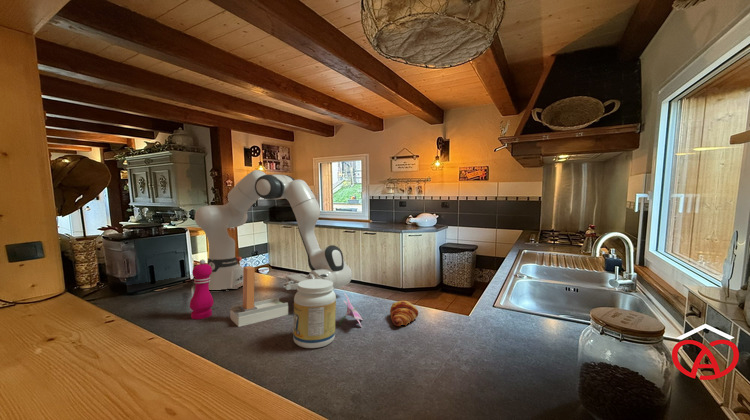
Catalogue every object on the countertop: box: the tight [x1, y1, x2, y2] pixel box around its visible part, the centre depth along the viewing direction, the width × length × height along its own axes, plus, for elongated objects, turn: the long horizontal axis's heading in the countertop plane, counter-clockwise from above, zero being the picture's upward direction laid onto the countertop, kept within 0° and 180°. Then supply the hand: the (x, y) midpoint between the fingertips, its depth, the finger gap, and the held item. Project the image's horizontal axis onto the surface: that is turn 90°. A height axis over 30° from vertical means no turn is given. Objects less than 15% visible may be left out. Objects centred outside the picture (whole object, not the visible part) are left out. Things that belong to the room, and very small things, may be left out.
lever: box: [239, 265, 257, 312], centre depth 100 cm, size 4×6×15 cm, turn 42°
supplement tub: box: [292, 279, 337, 349], centre depth 86 cm, size 12×12×17 cm
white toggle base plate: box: [229, 296, 289, 328], centre depth 103 cm, size 17×9×4 cm, turn 132°
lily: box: [339, 293, 363, 328], centre depth 98 cm, size 12×12×10 cm
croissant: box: [389, 300, 419, 327], centre depth 104 cm, size 21×10×8 cm, turn 164°
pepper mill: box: [189, 259, 215, 320], centre depth 102 cm, size 7×7×20 cm
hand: (284, 286), depth 109 cm, fingers closed
